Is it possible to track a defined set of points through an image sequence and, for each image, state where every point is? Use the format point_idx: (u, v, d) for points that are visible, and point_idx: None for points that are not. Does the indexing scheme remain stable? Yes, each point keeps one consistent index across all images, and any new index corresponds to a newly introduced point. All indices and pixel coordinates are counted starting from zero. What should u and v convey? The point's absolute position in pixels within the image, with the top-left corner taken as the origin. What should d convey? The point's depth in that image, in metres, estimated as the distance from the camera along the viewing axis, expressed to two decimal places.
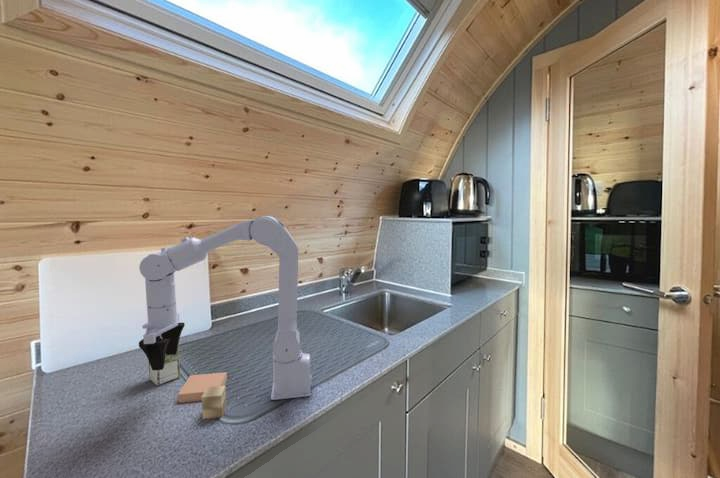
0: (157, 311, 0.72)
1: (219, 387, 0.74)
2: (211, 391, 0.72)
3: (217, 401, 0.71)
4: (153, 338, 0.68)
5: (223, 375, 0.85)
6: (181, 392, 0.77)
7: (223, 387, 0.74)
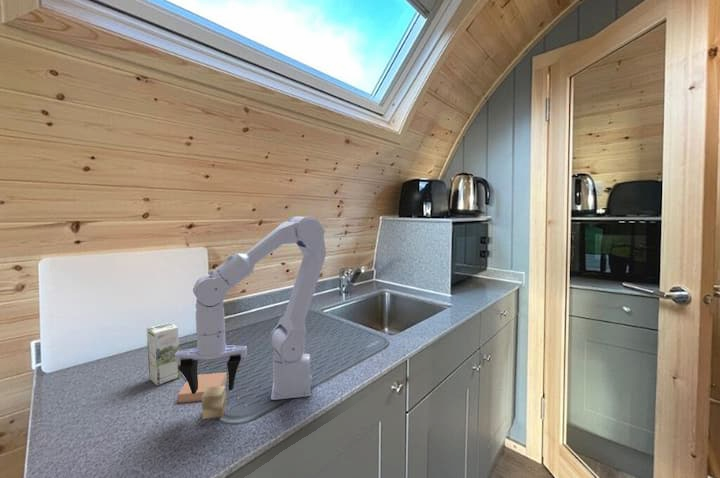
0: None
1: (219, 387, 0.74)
2: (211, 391, 0.72)
3: (217, 400, 0.71)
4: (175, 357, 0.69)
5: (223, 375, 0.85)
6: (181, 392, 0.77)
7: (223, 387, 0.74)
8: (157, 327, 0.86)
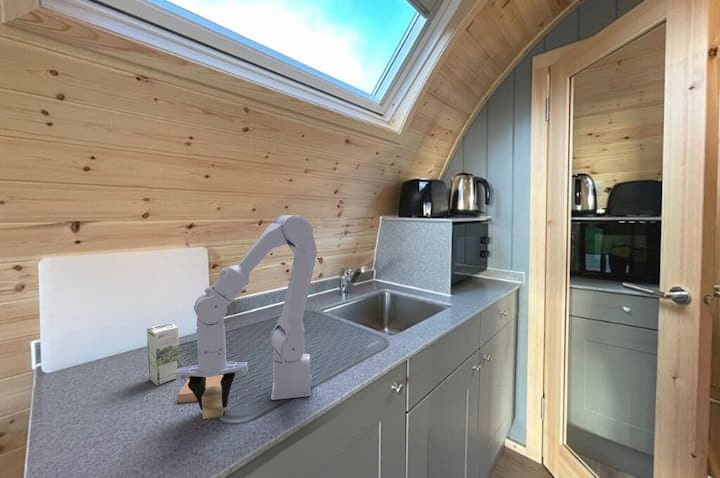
0: None
1: (219, 387, 0.74)
2: (211, 391, 0.72)
3: (217, 400, 0.71)
4: (176, 375, 0.70)
5: None
6: (181, 392, 0.77)
7: None
8: (157, 327, 0.86)
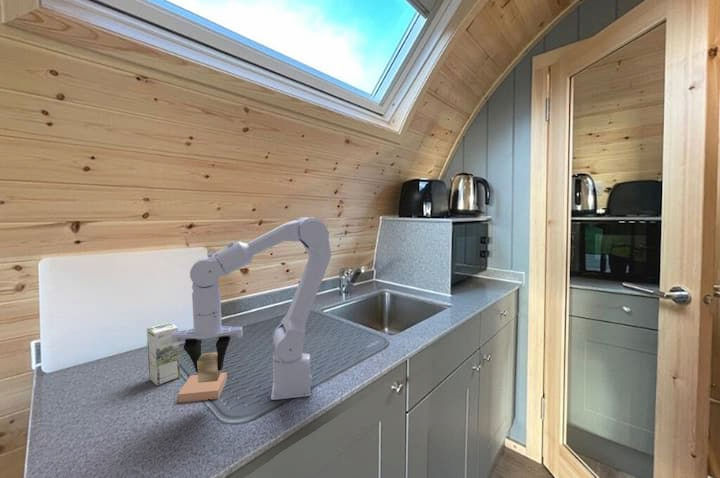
0: None
1: (214, 353, 0.75)
2: (206, 356, 0.74)
3: (212, 365, 0.72)
4: (172, 338, 0.71)
5: (223, 375, 0.85)
6: (181, 392, 0.77)
7: None
8: (157, 327, 0.86)
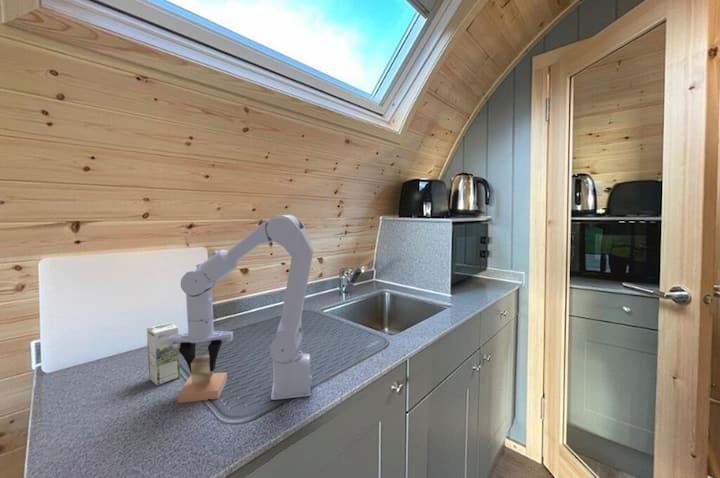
0: None
1: (207, 356, 0.82)
2: (199, 359, 0.80)
3: (205, 367, 0.79)
4: (168, 341, 0.78)
5: (223, 375, 0.85)
6: (181, 392, 0.77)
7: None
8: (157, 327, 0.86)
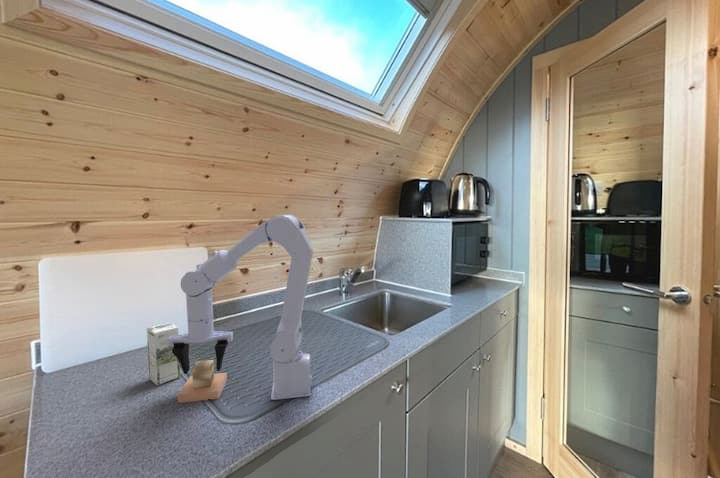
0: None
1: (208, 361, 0.83)
2: (201, 364, 0.81)
3: (206, 372, 0.79)
4: (168, 341, 0.78)
5: (223, 375, 0.85)
6: (181, 392, 0.77)
7: (212, 361, 0.83)
8: (157, 327, 0.86)
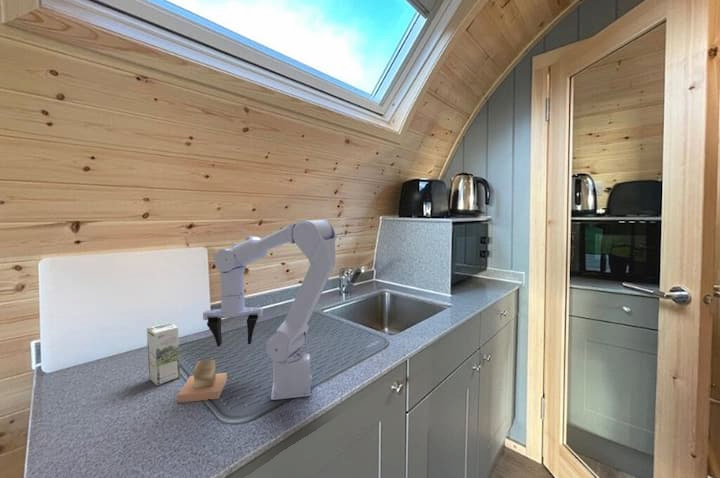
0: None
1: (209, 361, 0.83)
2: (202, 364, 0.81)
3: (208, 372, 0.79)
4: (203, 315, 0.83)
5: (223, 375, 0.85)
6: (181, 392, 0.77)
7: (213, 361, 0.83)
8: (157, 327, 0.86)
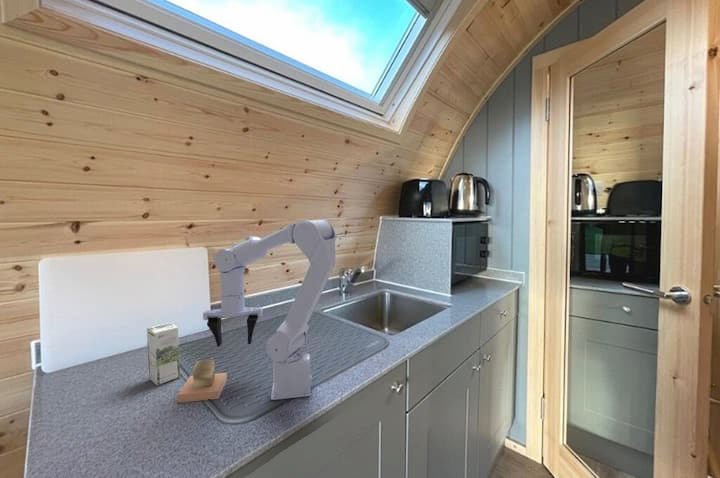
0: None
1: (208, 361, 0.83)
2: (201, 364, 0.81)
3: (207, 371, 0.80)
4: (203, 315, 0.83)
5: (223, 375, 0.85)
6: (181, 392, 0.77)
7: (212, 360, 0.83)
8: (157, 327, 0.86)
